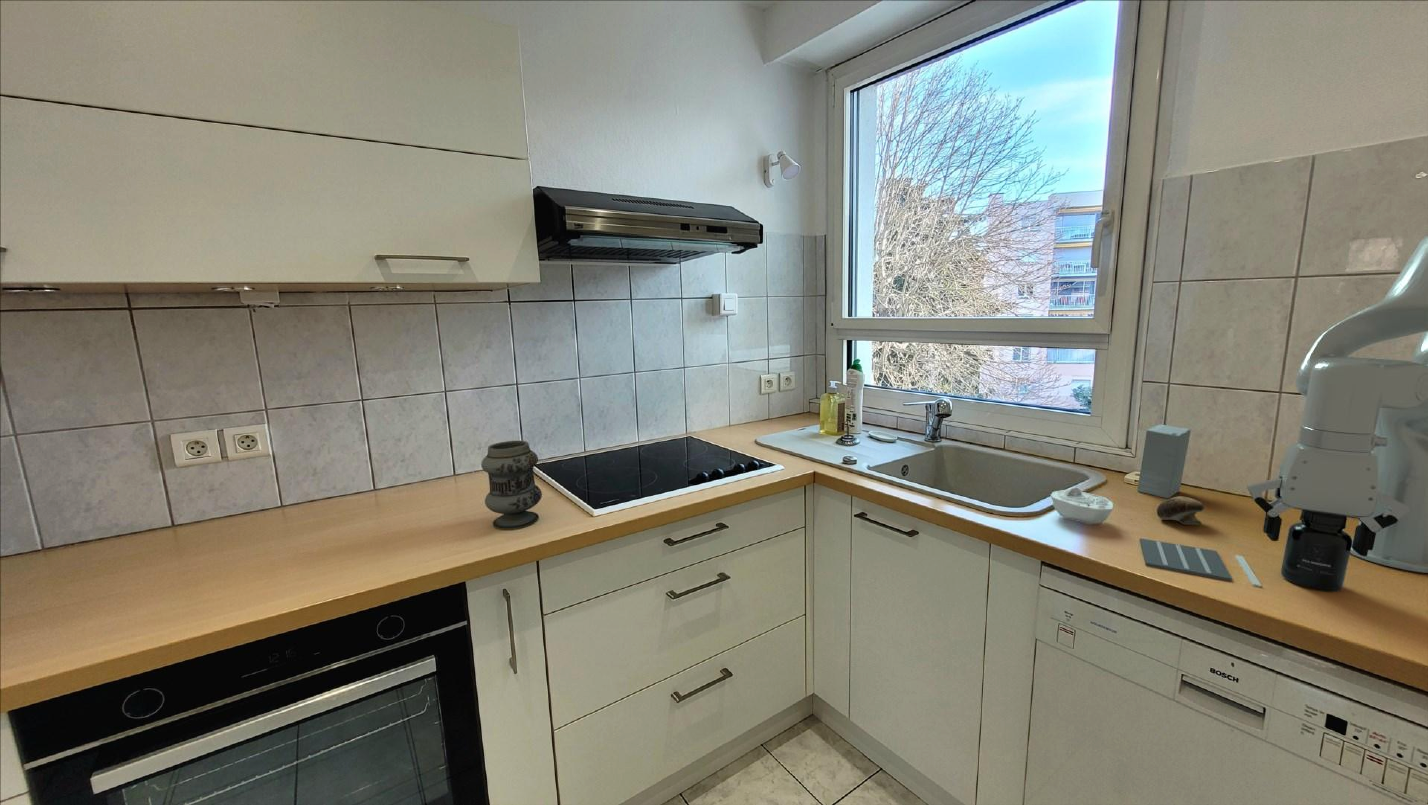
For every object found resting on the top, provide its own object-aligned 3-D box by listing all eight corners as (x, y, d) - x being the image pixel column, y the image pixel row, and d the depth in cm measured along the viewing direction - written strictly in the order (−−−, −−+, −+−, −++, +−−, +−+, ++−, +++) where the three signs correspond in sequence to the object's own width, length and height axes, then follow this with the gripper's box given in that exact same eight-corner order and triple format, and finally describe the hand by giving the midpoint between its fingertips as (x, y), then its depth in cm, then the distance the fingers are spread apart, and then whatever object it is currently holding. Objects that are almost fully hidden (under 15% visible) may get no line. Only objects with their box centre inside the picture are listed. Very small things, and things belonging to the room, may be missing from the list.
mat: (1216, 553, 98) (1216, 550, 98) (1231, 581, 88) (1231, 578, 88) (1139, 540, 104) (1139, 537, 104) (1145, 565, 94) (1146, 562, 94)
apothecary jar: (512, 509, 129) (506, 436, 126) (554, 514, 125) (548, 439, 122) (475, 528, 118) (466, 449, 115) (519, 535, 114) (512, 452, 111)
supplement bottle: (1304, 591, 85) (1316, 519, 83) (1268, 571, 91) (1279, 503, 89) (1356, 594, 83) (1370, 521, 81) (1316, 573, 90) (1328, 505, 88)
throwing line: (1242, 557, 96) (1242, 556, 96) (1261, 587, 86) (1261, 585, 86) (1234, 556, 97) (1235, 555, 97) (1252, 585, 87) (1252, 583, 87)
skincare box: (1148, 485, 135) (1155, 423, 132) (1184, 492, 129) (1192, 428, 127) (1135, 492, 130) (1142, 428, 128) (1172, 500, 125) (1180, 433, 122)
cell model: (1084, 534, 107) (1087, 502, 106) (1037, 513, 119) (1039, 483, 118) (1126, 529, 109) (1130, 497, 108) (1076, 508, 121) (1079, 479, 120)
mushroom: (1221, 518, 106) (1201, 488, 108) (1176, 530, 108) (1158, 501, 110) (1204, 523, 113) (1186, 495, 115) (1162, 535, 115) (1145, 507, 117)
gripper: (1408, 443, 82) (1385, 550, 84) (1250, 430, 91) (1234, 526, 94) (1435, 454, 75) (1409, 568, 78) (1263, 438, 85) (1245, 540, 88)
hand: (1314, 545), depth 86 cm, fingers open, 9 cm apart
